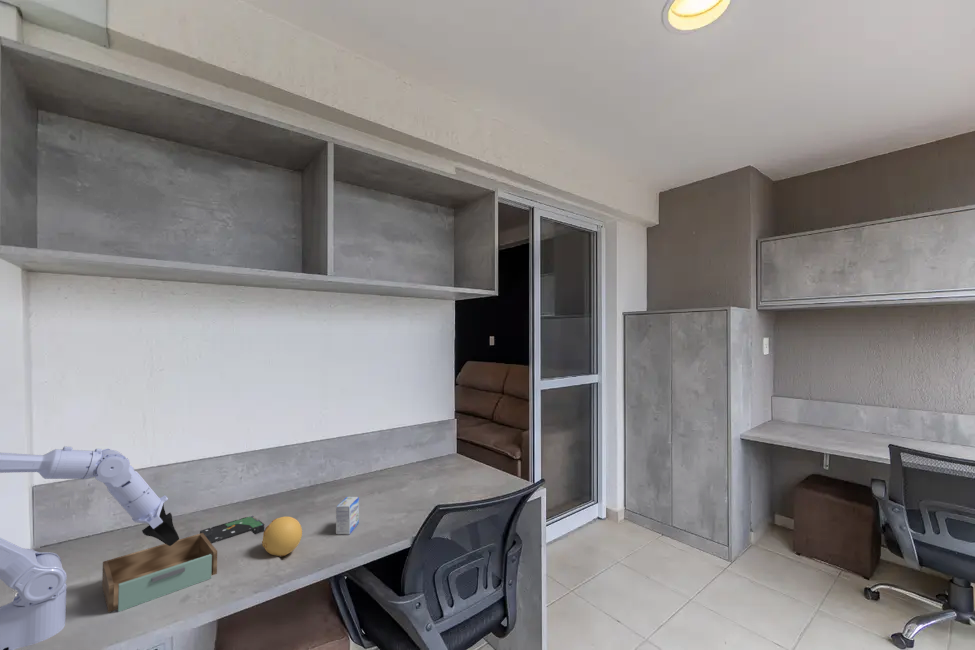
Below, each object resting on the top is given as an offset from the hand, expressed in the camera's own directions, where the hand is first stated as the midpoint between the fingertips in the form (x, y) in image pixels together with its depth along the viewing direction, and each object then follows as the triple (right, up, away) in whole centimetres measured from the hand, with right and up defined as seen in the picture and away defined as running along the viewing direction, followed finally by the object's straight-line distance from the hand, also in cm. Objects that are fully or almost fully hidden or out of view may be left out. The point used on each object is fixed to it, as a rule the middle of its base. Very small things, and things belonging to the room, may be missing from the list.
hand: (170, 536), depth 99 cm
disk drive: (-2, -14, +27) cm, 31 cm away
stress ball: (+19, -14, +16) cm, 28 cm away
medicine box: (+32, -14, +32) cm, 47 cm away
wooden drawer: (-4, -13, +2) cm, 13 cm away
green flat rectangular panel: (+2, -11, -4) cm, 12 cm away
